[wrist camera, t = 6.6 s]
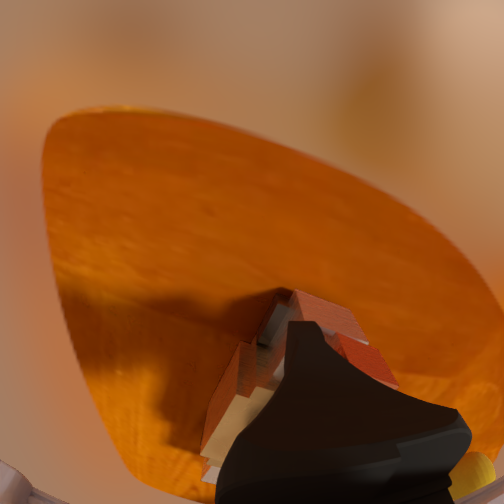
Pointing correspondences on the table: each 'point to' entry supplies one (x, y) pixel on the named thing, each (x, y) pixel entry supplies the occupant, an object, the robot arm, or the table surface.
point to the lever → (364, 358)
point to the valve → (263, 371)
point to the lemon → (471, 474)
